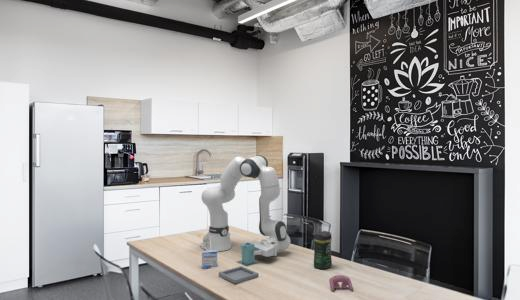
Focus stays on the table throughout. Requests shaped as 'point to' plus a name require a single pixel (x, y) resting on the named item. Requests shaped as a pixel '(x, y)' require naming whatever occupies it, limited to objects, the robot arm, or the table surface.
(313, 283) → the table surface
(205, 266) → the medicine box
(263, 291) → the table surface
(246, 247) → the tabbed sleeve
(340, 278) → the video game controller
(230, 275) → the tray
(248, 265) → the stand
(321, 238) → the coffee jar
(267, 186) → the robot arm
